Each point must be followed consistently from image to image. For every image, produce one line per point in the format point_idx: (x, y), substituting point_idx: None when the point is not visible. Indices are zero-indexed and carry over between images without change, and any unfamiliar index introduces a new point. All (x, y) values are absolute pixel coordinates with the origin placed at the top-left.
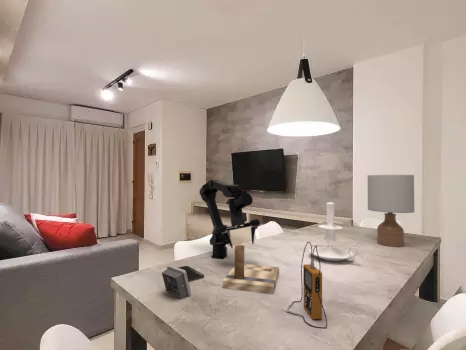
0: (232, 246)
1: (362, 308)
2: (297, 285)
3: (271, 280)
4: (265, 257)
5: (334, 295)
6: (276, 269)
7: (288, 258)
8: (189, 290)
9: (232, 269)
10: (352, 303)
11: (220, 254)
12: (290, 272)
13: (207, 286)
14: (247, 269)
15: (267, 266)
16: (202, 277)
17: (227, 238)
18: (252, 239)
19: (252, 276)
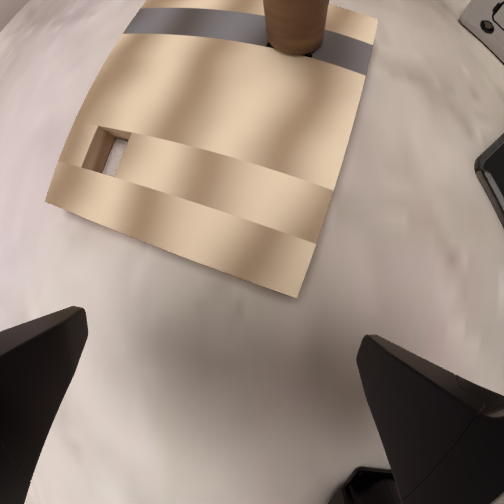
0: (366, 365)
1: (23, 18)
2: (57, 83)
3: (139, 27)
4: (107, 456)
5: (21, 51)
6: (64, 163)
7: None
8: (467, 7)
9: (339, 156)
10: (21, 29)
11: (377, 488)
12: (26, 220)
13: (435, 65)
14: (229, 152)
15: (91, 213)
16: (480, 155)
17: (485, 394)
18: (42, 326)
19: (217, 50)
